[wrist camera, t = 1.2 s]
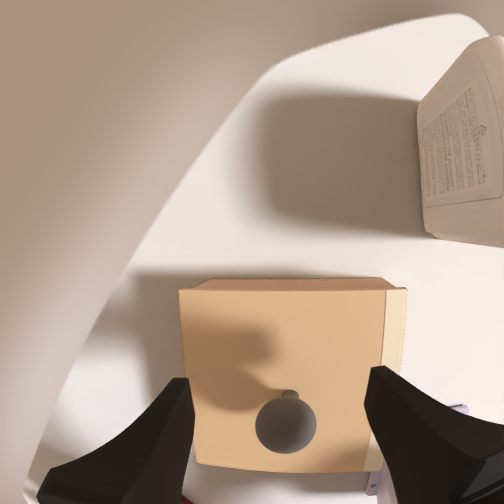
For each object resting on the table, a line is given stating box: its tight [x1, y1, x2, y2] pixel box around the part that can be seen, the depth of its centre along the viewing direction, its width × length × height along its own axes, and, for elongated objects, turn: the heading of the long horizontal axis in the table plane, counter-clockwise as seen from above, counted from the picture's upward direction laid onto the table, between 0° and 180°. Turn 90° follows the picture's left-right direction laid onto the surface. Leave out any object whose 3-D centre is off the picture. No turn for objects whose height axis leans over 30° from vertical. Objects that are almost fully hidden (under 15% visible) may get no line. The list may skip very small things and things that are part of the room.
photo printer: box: [417, 36, 504, 248], centre depth 14 cm, size 10×4×12 cm, turn 1°
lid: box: [179, 287, 408, 473], centre depth 15 cm, size 12×12×5 cm
